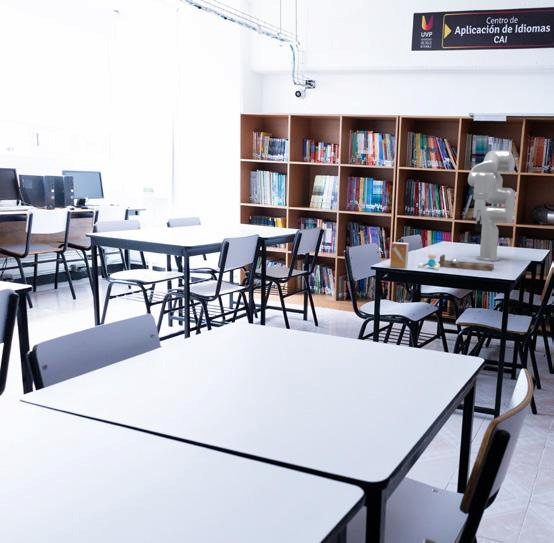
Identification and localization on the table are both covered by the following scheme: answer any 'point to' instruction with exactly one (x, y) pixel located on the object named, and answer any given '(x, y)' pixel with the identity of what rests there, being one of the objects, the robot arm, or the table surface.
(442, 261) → the deck
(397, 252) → the small box
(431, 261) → the molecule model
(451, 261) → the ball
